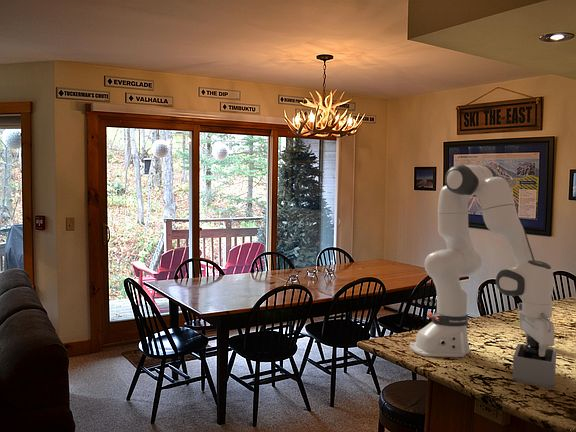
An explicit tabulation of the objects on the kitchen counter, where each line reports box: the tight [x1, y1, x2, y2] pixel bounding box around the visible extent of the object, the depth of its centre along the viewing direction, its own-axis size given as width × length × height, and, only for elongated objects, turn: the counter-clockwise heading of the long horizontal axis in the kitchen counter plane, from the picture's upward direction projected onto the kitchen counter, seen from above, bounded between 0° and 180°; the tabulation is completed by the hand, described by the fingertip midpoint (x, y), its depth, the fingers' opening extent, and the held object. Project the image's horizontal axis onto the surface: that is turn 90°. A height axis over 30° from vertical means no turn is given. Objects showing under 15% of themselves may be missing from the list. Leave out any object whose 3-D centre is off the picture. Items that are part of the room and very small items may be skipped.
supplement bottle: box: [523, 336, 546, 361], centre depth 171 cm, size 7×7×12 cm
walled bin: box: [512, 343, 557, 389], centre depth 171 cm, size 16×12×8 cm
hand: (535, 351), depth 171 cm, fingers open, 8 cm apart
